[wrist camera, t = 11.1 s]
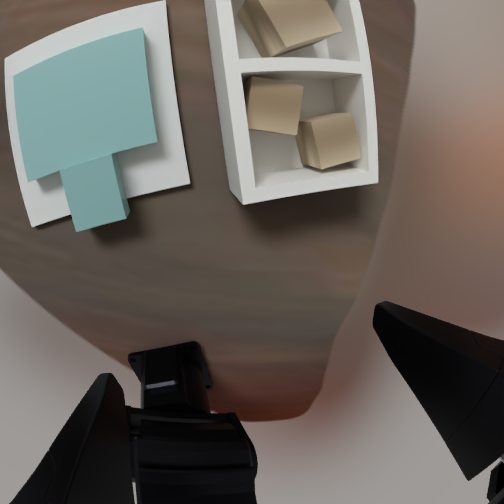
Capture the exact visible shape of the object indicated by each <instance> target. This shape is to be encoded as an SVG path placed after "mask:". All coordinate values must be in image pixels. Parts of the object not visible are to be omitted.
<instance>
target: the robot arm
mask: <svg viewBox="0 0 504 504" xmlns="http://www.w3.org/2000/svg"><path fill="white" fill-rule="evenodd" d="M373 328H374V330H375V331H376V333H377V335H378V337H379V339H380V340H381V342H382V344H383V346H384V348H385V350H386V351H387V353H388V355H389V357H390V358H391V360H392V362H393V363H394V365H395V366H396V368H397V369H398V371H399V372H400V373H401V375H402V377H403V378H404V380H405V381H406V382H407V384H408V385H409V387H410V388H411V390H412V391H413V393H414V394H415V396H416V397H417V399H418V400H419V402H420V404H421V405H422V407H423V408H424V410H425V411H426V413H427V414H428V416H429V417H430V419H431V421H432V422H433V424H434V425H435V427H436V429H437V430H438V432H439V433H440V435H441V436H442V438H443V440H444V441H445V443H446V445H447V447H448V448H449V450H450V452H451V453H452V455H453V457H454V458H455V460H456V462H457V463H458V465H459V467H460V468H461V470H462V472H463V474H464V475H465V477H466V479H467V480H468V481H469V480H471V479H472V478H474V477H475V476H476V475H478V474H479V473H480V472H482V471H483V470H484V469H486V468H487V467H488V466H489V465H491V464H492V463H493V462H494V461H496V460H497V459H498V458H500V459H501V461H500V462H499V463H498V464H497V465H496V466H495V468H494V469H493V470H492V471H491V475H490V482H489V487H488V493H487V498H488V500H489V501H490V502H489V503H488V504H504V340H500V339H496V338H492V337H489V336H486V335H483V334H480V333H477V332H474V331H471V330H470V331H469V330H468V329H465V328H462V327H460V326H457V325H454V324H451V323H448V322H445V321H442V320H439V319H437V318H434V317H431V316H428V315H425V314H423V313H420V312H417V311H414V310H411V309H408V308H405V307H402V306H400V305H397V304H394V303H391V302H388V301H383V302H381V303H378V304H377V305H376V306H375V309H374V316H373ZM193 346H194V348H192V347H193ZM132 358H134V359H132ZM128 362H129V363H130V365H131V367H132V369H133V370H134V372H135V374H136V376H137V377H138V379H139V380H140V382H141V408H133V407H131V406H126V405H125V399H124V393H123V389H122V387H121V386H120V384H119V383H118V382H117V380H116V378H115V377H114V375H113V374H112V373H103V374H100V375H99V376H98V377H97V379H96V380H95V381H94V383H93V384H92V385H91V387H90V388H89V390H88V391H87V393H86V394H85V396H84V397H83V398H82V400H81V401H80V403H79V404H78V406H77V407H76V409H75V410H74V412H73V413H72V414H71V416H70V417H69V419H68V420H67V422H66V424H65V425H64V427H63V428H62V430H61V431H60V433H59V434H58V436H57V437H56V439H55V440H54V442H53V443H52V445H51V447H50V448H49V451H47V453H46V454H45V456H44V457H43V459H42V460H41V462H40V464H39V465H38V467H37V468H36V470H35V471H34V472H33V474H32V475H31V476H30V478H29V479H28V480H27V482H26V483H25V484H24V486H23V487H22V488H21V490H20V491H19V492H18V494H17V495H16V496H15V498H14V499H13V500H12V502H11V503H9V504H135V502H134V494H133V484H132V482H135V483H136V495H137V504H257V501H256V496H255V483H254V480H255V477H256V474H257V467H258V466H257V465H258V463H257V455H256V451H255V448H254V445H253V443H252V441H251V440H250V438H249V437H248V435H247V433H246V431H245V430H244V428H243V426H242V424H241V423H240V421H239V419H238V417H237V415H236V414H235V412H228V413H211V411H210V407H209V402H208V397H207V392H206V390H209V389H211V388H212V387H213V385H212V381H211V379H210V376H209V373H208V370H207V367H206V365H205V362H204V359H203V356H202V353H201V350H200V347H199V344H198V343H197V342H195V341H191V342H186V343H181V344H177V345H172V346H167V347H162V348H157V349H151V350H146V351H140V352H135V353H130V354H129V355H128Z"/></svg>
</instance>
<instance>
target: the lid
mask: <svg viewBox="0 0 504 504" xmlns="http://www.w3.org/2000/svg"><path fill="white" fill-rule="evenodd" d="M13 82H14V99H15V110H16V119H17V127H18V134H19V140H20V146H21V152H22V157H23V162H24V167H25V172H26V176H27V180H28V183H29V182H31V181H33V180H36V179H38V178H41V177H43V176H46V175H49V174H51V173H54V172H57V171H59V170H60V175H61V179H62V183H63V187H64V191H65V195H66V199H67V202H68V206H69V209H70V213H71V216H72V220H73V223H74V226H75V229H76V232H78V231H82V230H85V229H89V228H93V227H96V226H100V225H104V224H107V223H111V222H115V221H119V220H123V219H126V218H127V216H128V214H129V212H130V209H129V205H128V201H127V197H126V193H125V189H124V184H123V180H122V175H121V171H120V166H119V161H118V156H117V152H119V151H123V150H127V149H130V148H134V147H138V146H142V145H146V144H151V143H155V142H158V135H157V129H156V122H155V116H154V109H153V102H152V95H151V88H150V80H149V72H148V63H147V53H146V43H145V33H144V30H143V27H142V28H138V29H133V30H129V31H126V32H122V33H118V34H115V35H111V36H108V37H104V38H101V39H98V40H95V41H92V42H89V43H86V44H83V45H81V46H78V47H75V48H72V49H70V50H67V51H65V52H62V53H60V54H58V55H55V56H53V57H51V58H48V59H46V60H44V61H42V62H40V63H38V64H36V65H33V66H31V67H29V68H27V69H26V70H24V71H22V72H20V73H18V74H16V75H14V76H13Z"/></svg>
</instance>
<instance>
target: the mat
mask: <svg viewBox="0 0 504 504" xmlns="http://www.w3.org/2000/svg"><path fill="white" fill-rule="evenodd" d="M142 27H143V30H144V33H145V43H146V53H147V63H148V72H149V80H150V88H151V95H152V102H153V109H154V116H155V122H156V129H157V135H158V142H155V143H151V144H146V145H142V146H138V147H134V148H130V149H127V150H123V151H119V152H117V156H118V161H119V166H120V171H121V175H122V180H123V184H124V189H125V193H126V197H127V198H131V197H135V196H139V195H143V194H147V193H151V192H155V191H159V190H164V189H168V188H173V187H177V186H182V185H186V184H190V179H189V173H188V168H187V162H186V156H185V150H184V144H183V138H182V131H181V125H180V119H179V112H178V105H177V98H176V91H175V83H174V76H173V68H172V60H171V51H170V42H169V32H168V22H167V11H166V0H164V1H159V2H153V3H148V4H144V5H139V6H135V7H131V8H127V9H123V10H119V11H115V12H112V13H108V14H105V15H102V16H99V17H96V18H93V19H90V20H87V21H84V22H81V23H78V24H76V25H73V26H71V27H68V28H66V29H63V30H61V31H58V32H56V33H54V34H51V35H49V36H47V37H45V38H43V39H41V40H39V41H37V42H34V43H32V44H31V45H29V46H27V47H25V48H23V49H21V50H19V51H17V52H16V53H14V54H12V55H10V56H9V57H7V58H5V92H6V106H7V116H8V125H9V132H10V139H11V145H12V151H13V156H14V162H15V166H16V171H17V176H18V180H19V184H20V188H21V192H22V196H23V199H24V203H25V207H26V210H27V213H28V217H29V220H30V223H31V226H32V227H34V226H37V225H40V224H43V223H46V222H49V221H52V220H55V219H58V218H61V217H64V216H67V215H71V213H70V209H69V206H68V202H67V199H66V195H65V191H64V187H63V183H62V179H61V175H60V170H59V171H57V172H54V173H51V174H49V175H46V176H43V177H41V178H38V179H36V180H33V181H31V182H29V183H28V180H27V176H26V172H25V167H24V162H23V157H22V152H21V146H20V140H19V134H18V127H17V119H16V110H15V99H14V82H13V76H14V75H16V74H18V73H20V72H22V71H24V70H26V69H27V68H29V67H31V66H33V65H36V64H38V63H40V62H42V61H44V60H46V59H48V58H51V57H53V56H55V55H58V54H60V53H62V52H65V51H67V50H70V49H72V48H75V47H78V46H81V45H83V44H86V43H89V42H92V41H95V40H98V39H101V38H104V37H108V36H111V35H115V34H118V33H122V32H126V31H129V30H133V29H138V28H142Z"/></svg>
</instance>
